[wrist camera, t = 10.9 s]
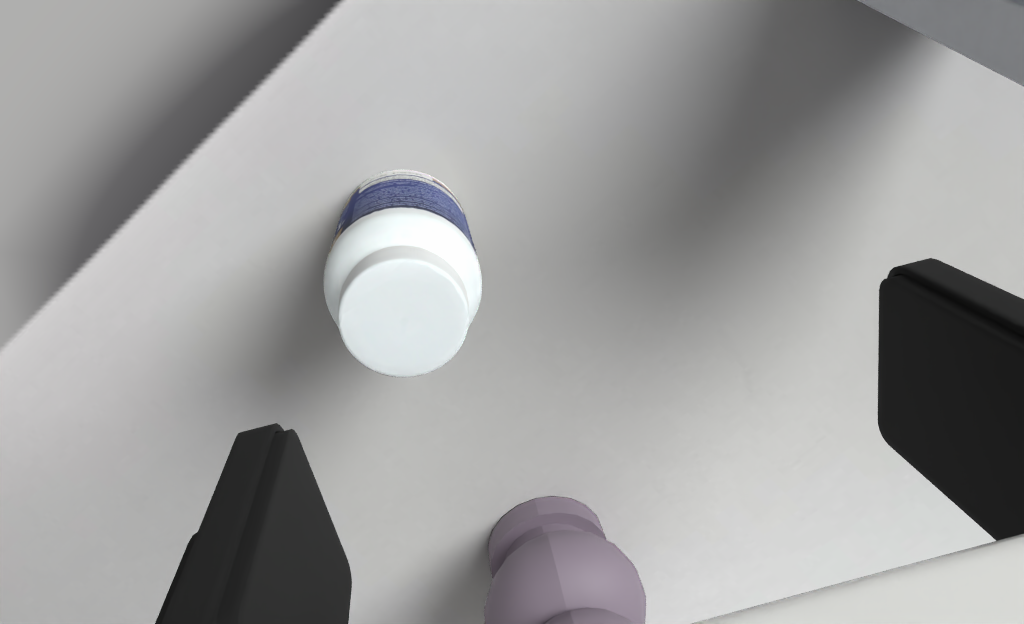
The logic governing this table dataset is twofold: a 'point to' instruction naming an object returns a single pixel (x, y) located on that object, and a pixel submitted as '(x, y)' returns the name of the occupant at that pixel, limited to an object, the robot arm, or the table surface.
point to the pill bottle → (402, 274)
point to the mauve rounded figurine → (559, 569)
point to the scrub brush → (967, 28)
